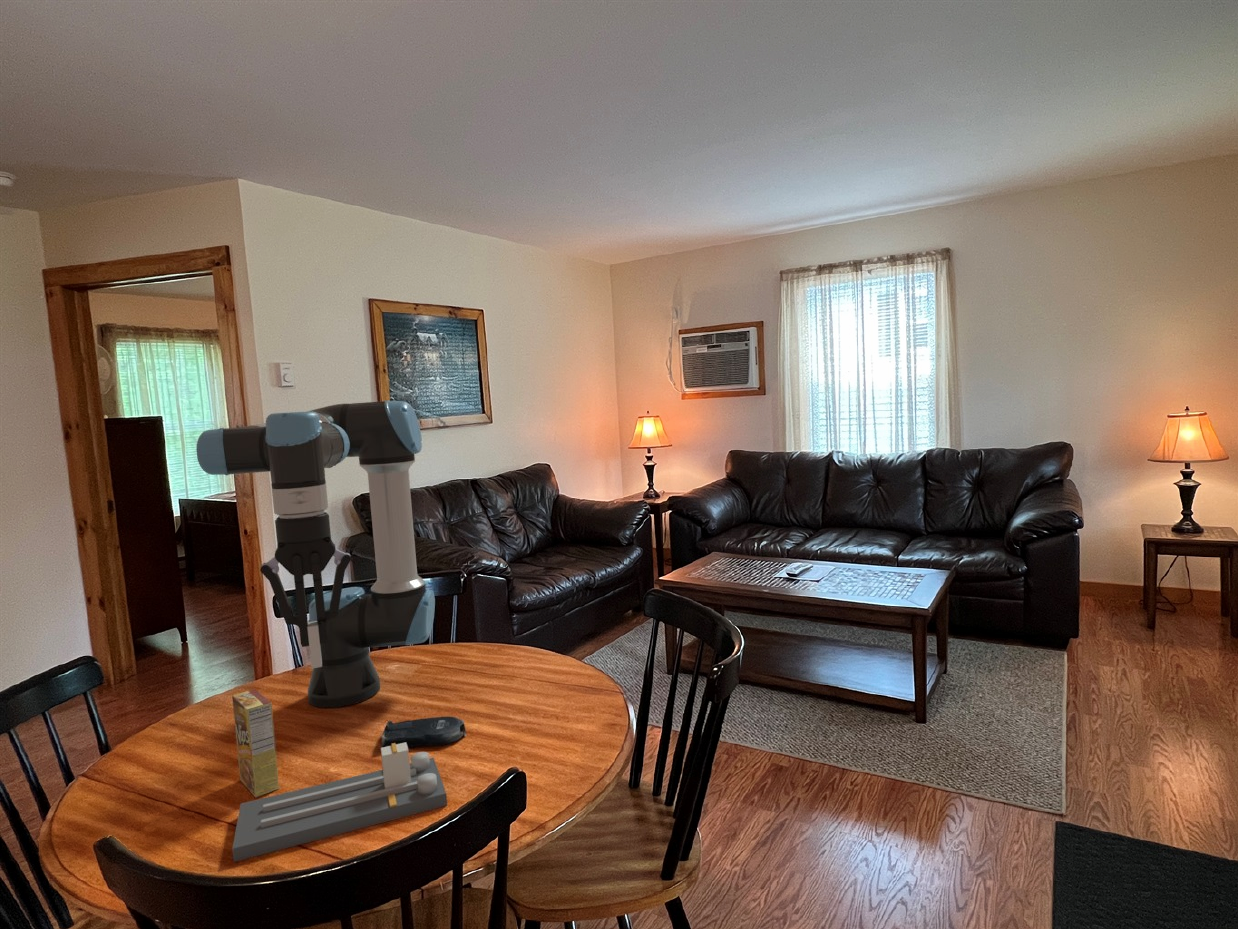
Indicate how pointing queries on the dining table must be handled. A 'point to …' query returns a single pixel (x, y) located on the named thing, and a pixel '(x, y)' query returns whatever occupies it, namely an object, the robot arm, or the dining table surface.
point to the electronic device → (424, 732)
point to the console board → (335, 809)
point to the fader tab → (395, 765)
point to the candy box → (255, 742)
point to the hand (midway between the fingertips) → (316, 664)
